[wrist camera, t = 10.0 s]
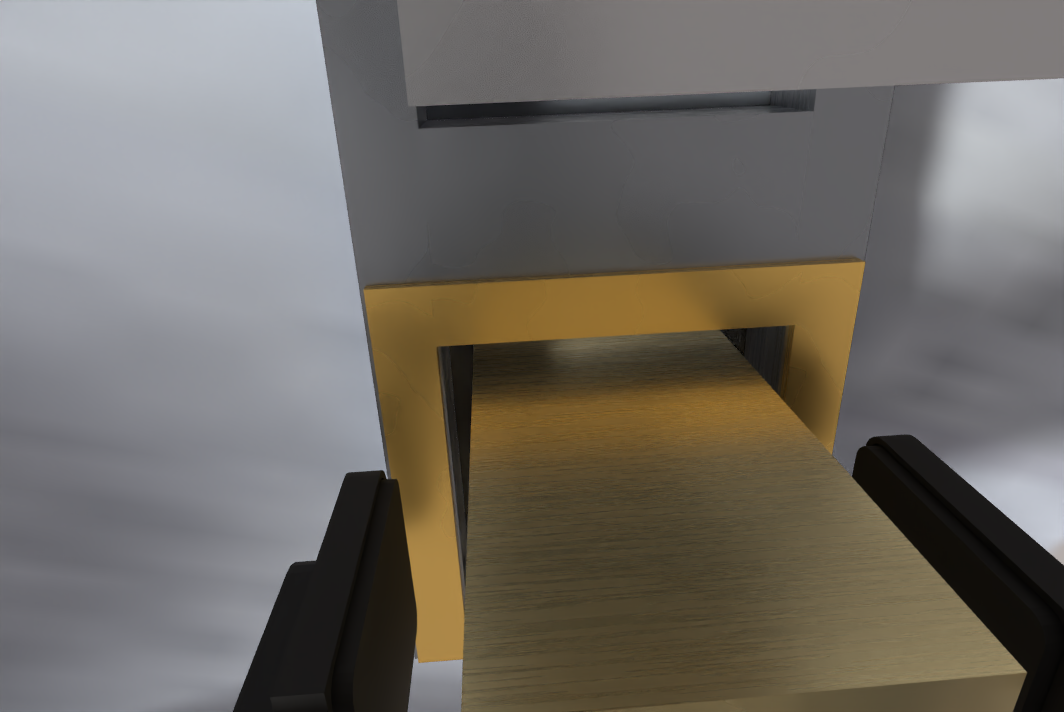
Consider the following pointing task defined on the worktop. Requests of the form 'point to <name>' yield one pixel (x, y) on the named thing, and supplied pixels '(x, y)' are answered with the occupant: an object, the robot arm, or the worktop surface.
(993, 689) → the wooden block with knob
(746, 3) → the grey block with knob
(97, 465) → the worktop surface
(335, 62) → the grey block holder rack
